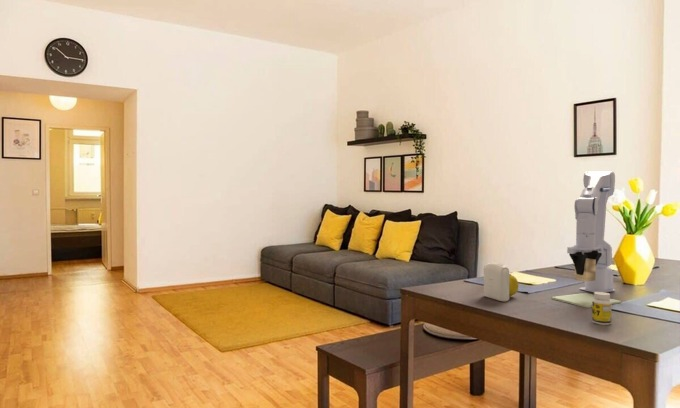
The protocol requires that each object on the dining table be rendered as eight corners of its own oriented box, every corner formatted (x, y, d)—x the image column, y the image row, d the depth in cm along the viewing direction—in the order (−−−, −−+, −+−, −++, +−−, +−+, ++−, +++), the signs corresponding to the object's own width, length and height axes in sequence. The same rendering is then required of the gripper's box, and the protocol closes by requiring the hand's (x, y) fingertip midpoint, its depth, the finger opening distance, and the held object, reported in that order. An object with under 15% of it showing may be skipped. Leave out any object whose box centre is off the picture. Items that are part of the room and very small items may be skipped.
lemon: (519, 299, 169) (519, 275, 169) (502, 298, 170) (502, 275, 170) (516, 295, 174) (517, 272, 174) (500, 294, 176) (500, 272, 175)
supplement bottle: (588, 320, 142) (588, 291, 141) (604, 320, 142) (604, 291, 142) (598, 325, 137) (599, 295, 137) (614, 325, 137) (615, 294, 137)
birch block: (584, 278, 169) (584, 257, 169) (595, 280, 165) (595, 259, 165) (574, 279, 167) (575, 258, 167) (585, 281, 163) (586, 260, 163)
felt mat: (584, 294, 176) (585, 292, 176) (621, 302, 163) (621, 301, 163) (551, 298, 169) (551, 296, 169) (586, 307, 157) (586, 305, 157)
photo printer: (481, 296, 174) (481, 260, 174) (491, 295, 175) (492, 260, 175) (500, 302, 164) (500, 265, 164) (511, 301, 166) (511, 264, 165)
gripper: (590, 231, 172) (590, 270, 173) (560, 233, 167) (559, 273, 167) (609, 233, 166) (608, 273, 166) (577, 235, 160) (577, 277, 161)
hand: (585, 273), depth 166 cm, fingers closed on birch block, 4 cm apart
